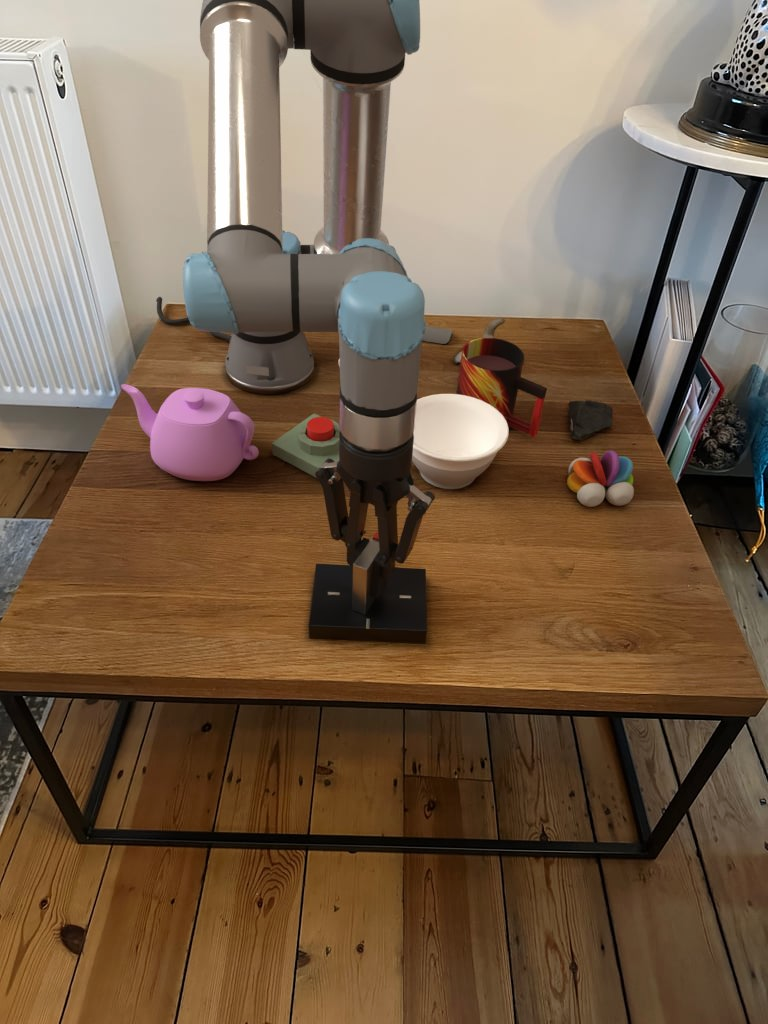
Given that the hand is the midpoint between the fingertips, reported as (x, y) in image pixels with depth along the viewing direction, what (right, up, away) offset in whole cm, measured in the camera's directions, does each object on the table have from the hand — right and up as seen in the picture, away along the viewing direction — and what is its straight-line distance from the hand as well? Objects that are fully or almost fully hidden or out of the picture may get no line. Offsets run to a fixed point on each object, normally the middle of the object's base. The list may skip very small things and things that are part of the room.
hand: (369, 586), depth 92 cm
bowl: (+11, +15, +24) cm, 30 cm away
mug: (+20, +24, +34) cm, 46 cm away
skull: (+20, +36, +46) cm, 62 cm away
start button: (-8, +21, +23) cm, 32 cm away
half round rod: (+5, +43, +53) cm, 68 cm away
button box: (-8, +18, +25) cm, 32 cm away
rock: (+35, +23, +33) cm, 53 cm away
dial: (0, -1, +1) cm, 2 cm away
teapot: (-27, +17, +23) cm, 39 cm away
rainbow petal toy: (+33, +12, +21) cm, 41 cm away
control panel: (0, -3, +3) cm, 4 cm away
